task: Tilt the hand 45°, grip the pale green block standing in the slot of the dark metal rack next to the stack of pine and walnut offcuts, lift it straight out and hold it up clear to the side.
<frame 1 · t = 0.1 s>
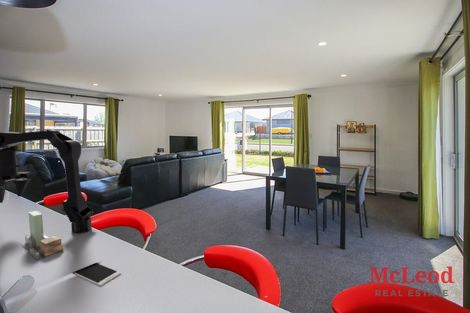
hand: (10, 199, 102), 15 cm above the counter, tool pointing down, fingers open, 9 cm apart
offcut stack: (52, 250, 88), point 1 cm above the counter, touching rack
rack: (37, 246, 93), on the counter
pale green block: (37, 243, 93), point 1 cm above the counter, touching rack
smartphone: (95, 274, 77), on the counter
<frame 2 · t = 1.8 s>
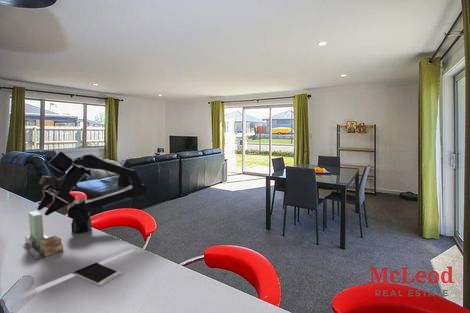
hand: (41, 212, 94), 13 cm above the counter, tool tilted 45°, fingers open, 9 cm apart
nothing on the counter moved.
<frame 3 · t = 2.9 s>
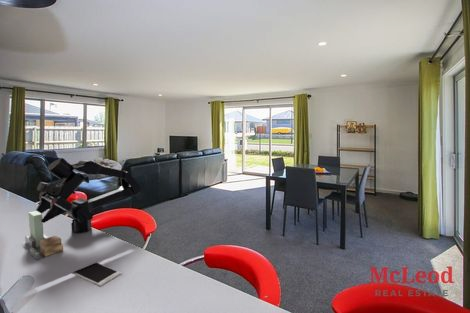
hand: (38, 219, 93), 10 cm above the counter, tool tilted 45°, fingers open, 9 cm apart
nothing on the counter moved.
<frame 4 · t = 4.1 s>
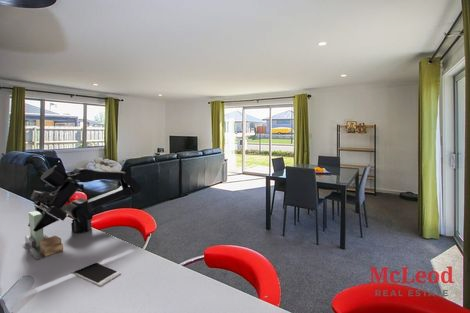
hand: (31, 228, 91), 7 cm above the counter, tool tilted 45°, fingers closed on pale green block, 6 cm apart
pale green block: (37, 243, 93), point 1 cm above the counter, touching gripper, rack
everything else where it was.
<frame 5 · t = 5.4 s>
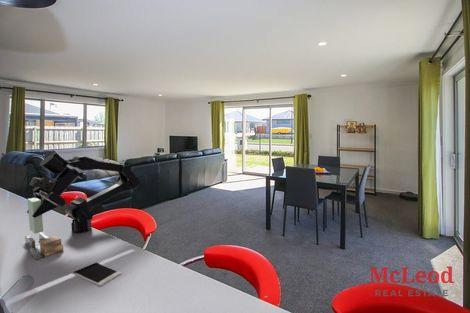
hand: (30, 215, 91), 13 cm above the counter, tool tilted 45°, fingers closed on pale green block, 6 cm apart
pale green block: (36, 230, 92), point 6 cm above the counter, touching gripper
everything else where it was.
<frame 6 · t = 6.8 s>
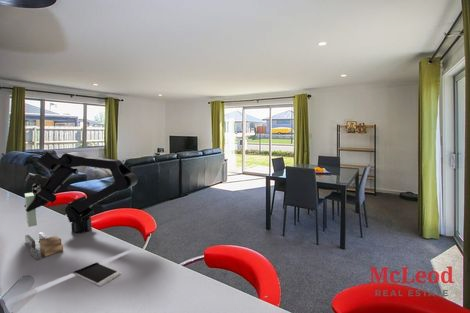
hand: (26, 209, 95), 13 cm above the counter, tool tilted 45°, fingers closed on pale green block, 6 cm apart
pale green block: (31, 223, 97), point 7 cm above the counter, touching gripper
everything else where it was.
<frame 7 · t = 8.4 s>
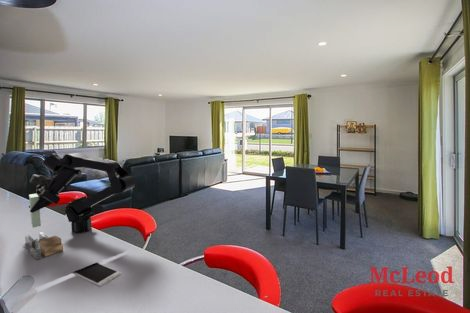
hand: (30, 209, 96), 13 cm above the counter, tool tilted 45°, fingers closed on pale green block, 6 cm apart
pale green block: (36, 224, 98), point 6 cm above the counter, touching gripper
everything else where it was.
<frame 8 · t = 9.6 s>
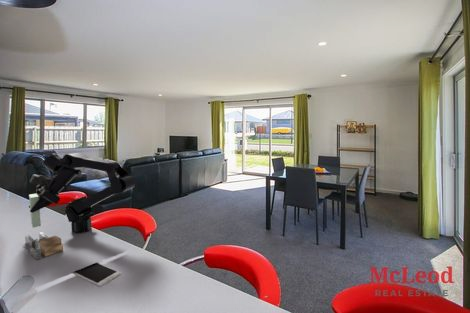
hand: (30, 209, 96), 13 cm above the counter, tool tilted 45°, fingers closed on pale green block, 6 cm apart
pale green block: (36, 224, 98), point 6 cm above the counter, touching gripper
everything else where it was.
at the end: the gripper is holding pale green block; pale green block point 6.1 cm above the counter; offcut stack moved 0.0 cm from its start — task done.
